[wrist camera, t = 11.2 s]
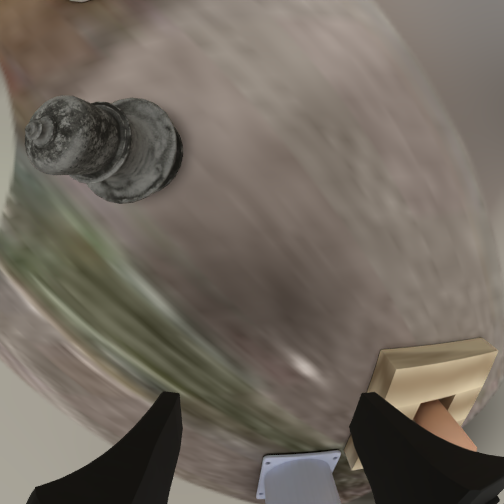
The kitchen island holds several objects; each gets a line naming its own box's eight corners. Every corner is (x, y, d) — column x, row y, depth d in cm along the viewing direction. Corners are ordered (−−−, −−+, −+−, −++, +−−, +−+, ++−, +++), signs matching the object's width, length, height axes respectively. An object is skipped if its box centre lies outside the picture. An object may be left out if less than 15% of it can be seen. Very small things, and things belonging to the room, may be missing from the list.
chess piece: (183, 202, 19) (102, 236, 7) (100, 197, 18) (-32, 225, 6) (192, 111, 17) (132, 21, 6) (109, 112, 17) (-11, 59, 5)
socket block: (438, 429, 26) (449, 444, 23) (343, 450, 25) (351, 470, 22) (481, 337, 23) (498, 350, 20) (380, 349, 22) (396, 369, 19)
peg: (423, 405, 24) (466, 464, 15) (401, 411, 24) (442, 476, 15) (433, 383, 23) (482, 442, 14) (410, 389, 23) (458, 454, 14)
